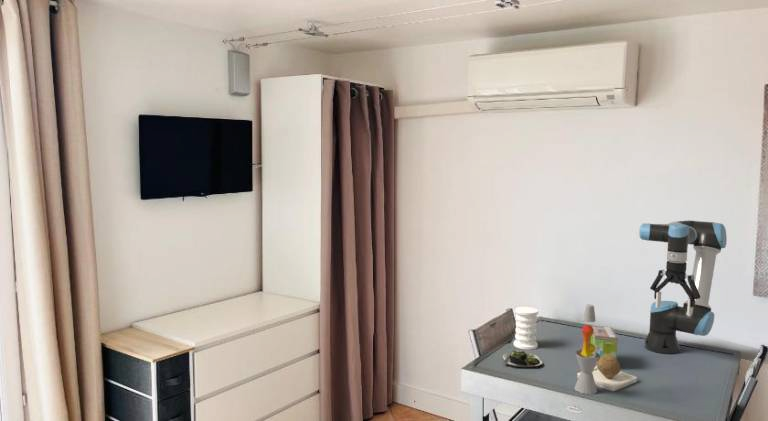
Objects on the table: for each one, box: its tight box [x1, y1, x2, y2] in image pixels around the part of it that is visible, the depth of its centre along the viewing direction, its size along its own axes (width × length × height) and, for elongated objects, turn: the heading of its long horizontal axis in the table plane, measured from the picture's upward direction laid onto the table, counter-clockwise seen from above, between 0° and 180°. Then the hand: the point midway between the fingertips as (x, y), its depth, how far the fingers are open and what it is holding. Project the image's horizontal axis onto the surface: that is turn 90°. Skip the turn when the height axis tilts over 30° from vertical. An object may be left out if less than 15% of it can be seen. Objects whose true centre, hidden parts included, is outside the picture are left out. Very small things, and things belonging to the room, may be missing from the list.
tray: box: [576, 366, 638, 392], centre depth 247 cm, size 17×17×2 cm
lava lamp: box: [574, 303, 599, 395], centre depth 235 cm, size 9×9×35 cm
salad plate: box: [502, 349, 543, 370], centre depth 268 cm, size 19×18×5 cm
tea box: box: [589, 325, 619, 367], centre depth 266 cm, size 15×10×15 cm, turn 168°
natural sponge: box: [597, 354, 621, 378], centre depth 247 cm, size 9×9×10 cm
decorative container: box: [513, 306, 539, 351], centre depth 288 cm, size 12×12×18 cm
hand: (673, 310), depth 249 cm, fingers open, 13 cm apart
